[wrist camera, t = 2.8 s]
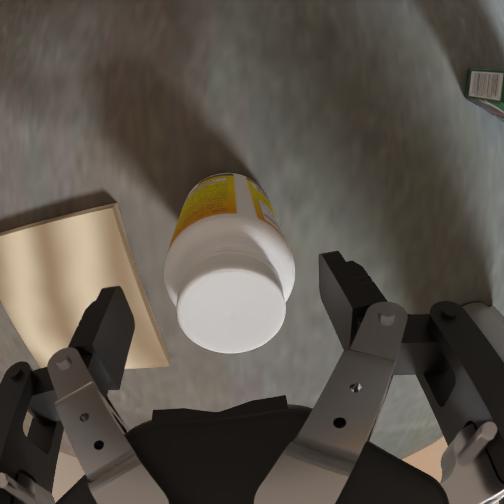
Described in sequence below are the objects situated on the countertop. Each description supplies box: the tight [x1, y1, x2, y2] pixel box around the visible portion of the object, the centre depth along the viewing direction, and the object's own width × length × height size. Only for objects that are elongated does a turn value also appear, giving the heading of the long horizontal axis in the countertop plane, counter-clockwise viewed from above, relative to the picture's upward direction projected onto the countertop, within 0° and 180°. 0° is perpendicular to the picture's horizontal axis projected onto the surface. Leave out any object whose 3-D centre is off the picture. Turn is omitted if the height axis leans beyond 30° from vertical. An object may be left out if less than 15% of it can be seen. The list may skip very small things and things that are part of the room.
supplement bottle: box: [164, 173, 295, 353], centre depth 16 cm, size 6×6×10 cm
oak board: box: [0, 203, 171, 369], centre depth 22 cm, size 14×14×1 cm
